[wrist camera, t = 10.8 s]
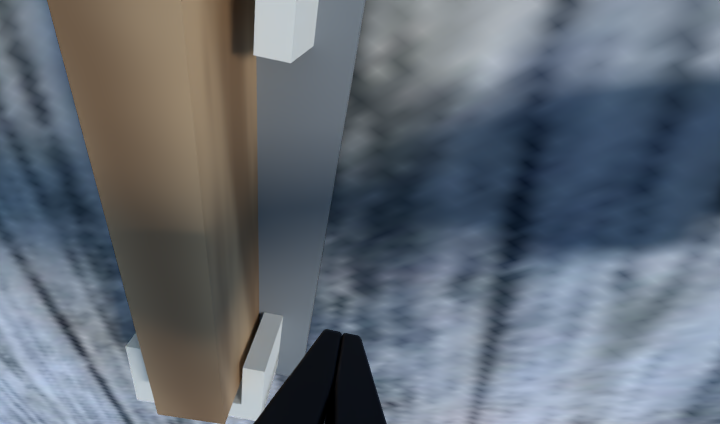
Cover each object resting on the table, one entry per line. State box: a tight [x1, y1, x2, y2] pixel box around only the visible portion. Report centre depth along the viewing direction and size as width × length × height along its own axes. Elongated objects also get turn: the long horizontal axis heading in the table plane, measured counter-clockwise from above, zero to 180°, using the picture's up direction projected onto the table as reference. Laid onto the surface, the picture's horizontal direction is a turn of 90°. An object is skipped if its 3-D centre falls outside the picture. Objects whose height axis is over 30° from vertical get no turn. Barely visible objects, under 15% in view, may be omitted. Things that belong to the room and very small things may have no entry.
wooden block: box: [47, 0, 259, 424], centre depth 17 cm, size 4×20×6 cm, turn 172°
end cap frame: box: [126, 0, 366, 421], centre depth 18 cm, size 11×28×5 cm, turn 169°
